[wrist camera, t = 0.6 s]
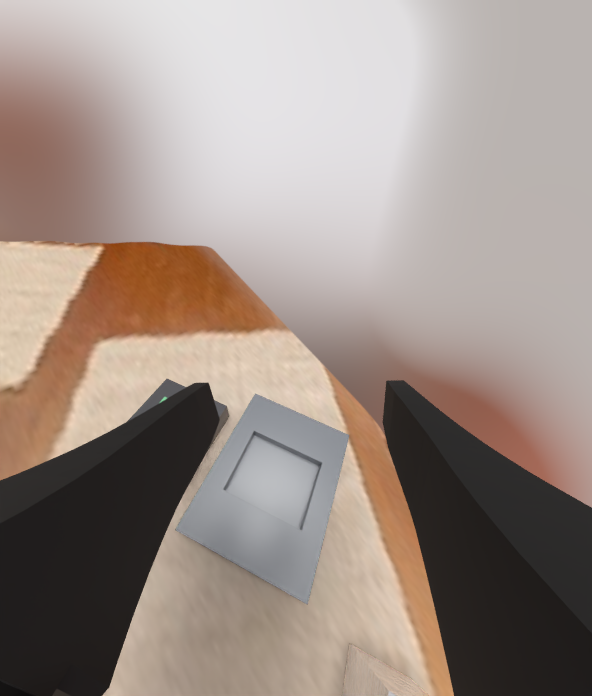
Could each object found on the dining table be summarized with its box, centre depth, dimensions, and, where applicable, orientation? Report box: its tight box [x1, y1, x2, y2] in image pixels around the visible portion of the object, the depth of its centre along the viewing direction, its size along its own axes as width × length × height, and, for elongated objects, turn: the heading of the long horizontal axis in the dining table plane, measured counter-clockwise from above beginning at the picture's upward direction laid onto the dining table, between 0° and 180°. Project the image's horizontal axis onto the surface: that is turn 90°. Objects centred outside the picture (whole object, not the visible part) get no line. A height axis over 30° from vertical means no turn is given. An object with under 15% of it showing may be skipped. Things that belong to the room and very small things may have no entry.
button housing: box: [127, 379, 229, 451], centre depth 25 cm, size 8×8×3 cm
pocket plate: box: [175, 394, 349, 604], centre depth 24 cm, size 14×12×2 cm
